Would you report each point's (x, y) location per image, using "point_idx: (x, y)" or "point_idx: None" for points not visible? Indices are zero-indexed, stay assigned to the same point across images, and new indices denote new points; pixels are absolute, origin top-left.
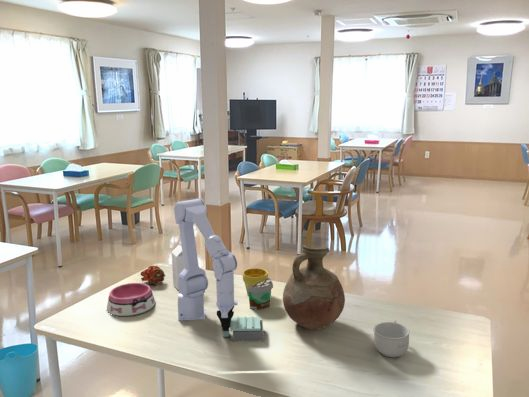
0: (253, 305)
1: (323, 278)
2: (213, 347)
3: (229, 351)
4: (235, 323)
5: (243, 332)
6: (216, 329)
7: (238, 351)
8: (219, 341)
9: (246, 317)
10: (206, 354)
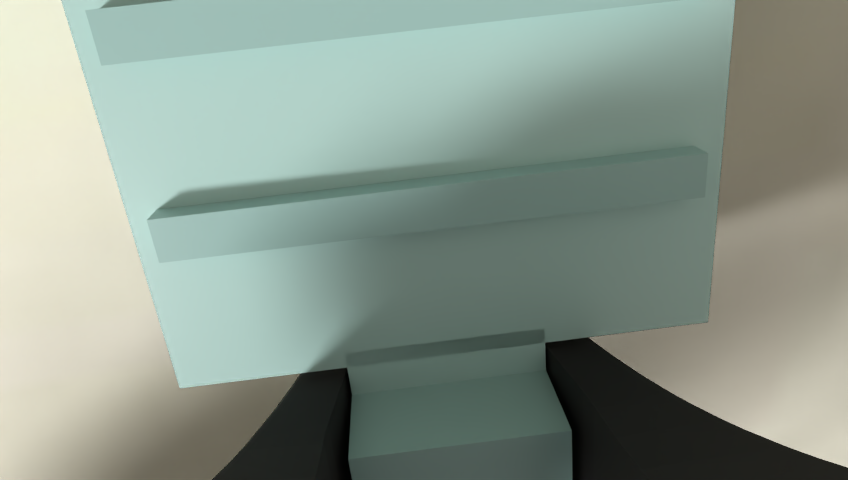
0: None
1: None
2: (688, 388)
3: (814, 184)
4: (462, 250)
5: None
6: (233, 441)
7: (838, 54)
8: None
9: (80, 4)
10: (830, 427)
